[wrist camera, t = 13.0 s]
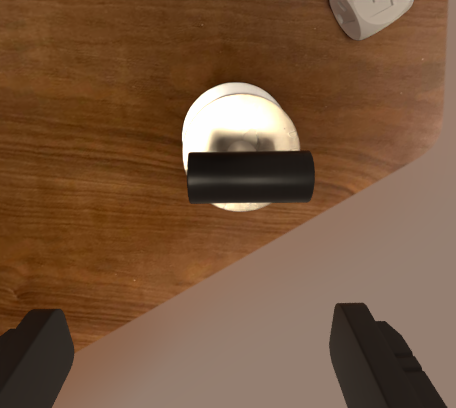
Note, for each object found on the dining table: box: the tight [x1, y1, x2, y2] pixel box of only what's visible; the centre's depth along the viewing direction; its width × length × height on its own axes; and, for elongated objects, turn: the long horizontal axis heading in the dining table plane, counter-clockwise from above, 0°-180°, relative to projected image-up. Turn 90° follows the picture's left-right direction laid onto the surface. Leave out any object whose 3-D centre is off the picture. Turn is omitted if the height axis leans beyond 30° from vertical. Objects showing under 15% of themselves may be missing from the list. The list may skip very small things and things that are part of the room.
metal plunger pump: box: [182, 82, 315, 212], centre depth 24 cm, size 11×11×21 cm
